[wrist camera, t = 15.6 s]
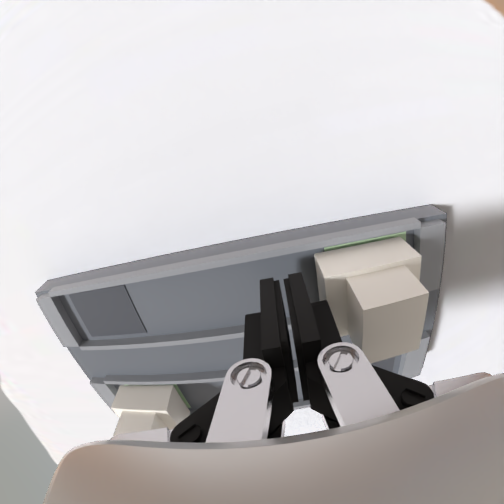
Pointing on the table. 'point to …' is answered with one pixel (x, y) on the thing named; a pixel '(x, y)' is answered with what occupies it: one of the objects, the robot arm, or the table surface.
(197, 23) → the table surface
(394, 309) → the tab
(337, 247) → the switch board
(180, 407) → the tab
